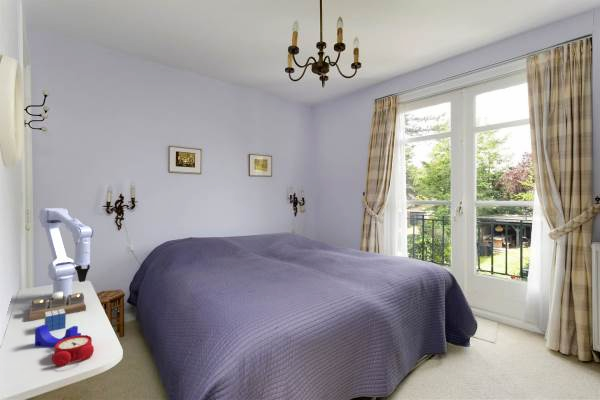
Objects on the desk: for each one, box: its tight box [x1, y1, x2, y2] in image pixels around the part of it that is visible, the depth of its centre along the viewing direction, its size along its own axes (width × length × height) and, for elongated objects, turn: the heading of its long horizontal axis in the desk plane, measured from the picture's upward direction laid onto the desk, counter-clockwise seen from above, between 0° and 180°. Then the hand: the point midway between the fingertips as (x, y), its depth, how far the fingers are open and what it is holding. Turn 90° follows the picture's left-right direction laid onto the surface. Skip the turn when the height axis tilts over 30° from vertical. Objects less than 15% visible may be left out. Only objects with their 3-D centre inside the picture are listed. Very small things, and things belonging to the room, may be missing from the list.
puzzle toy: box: [44, 309, 67, 332], centre depth 112 cm, size 6×6×6 cm
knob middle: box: [52, 292, 63, 300], centre depth 129 cm, size 3×3×3 cm
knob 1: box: [32, 298, 45, 304], centre depth 125 cm, size 3×3×3 cm
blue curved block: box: [34, 324, 82, 348], centre depth 100 cm, size 12×4×6 cm, turn 87°
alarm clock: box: [51, 334, 95, 367], centre depth 93 cm, size 10×6×15 cm
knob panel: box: [28, 292, 87, 322], centre depth 129 cm, size 16×18×5 cm
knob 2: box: [71, 292, 81, 297], centre depth 133 cm, size 3×3×3 cm
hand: (81, 281), depth 140 cm, fingers closed
